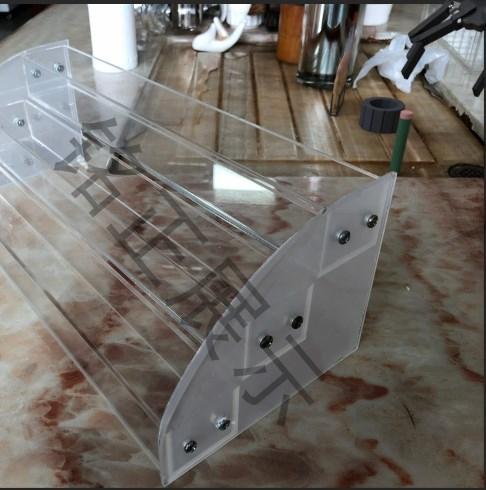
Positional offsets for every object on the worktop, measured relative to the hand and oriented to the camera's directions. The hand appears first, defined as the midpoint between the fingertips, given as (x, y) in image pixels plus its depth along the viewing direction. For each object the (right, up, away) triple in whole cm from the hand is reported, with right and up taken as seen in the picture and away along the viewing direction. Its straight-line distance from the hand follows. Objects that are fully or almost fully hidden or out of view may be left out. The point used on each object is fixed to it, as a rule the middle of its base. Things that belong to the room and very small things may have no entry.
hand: (438, 84), depth 108 cm
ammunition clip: (-9, +3, +31) cm, 33 cm away
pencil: (-7, -16, +3) cm, 18 cm away
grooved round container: (-3, -3, +22) cm, 22 cm away
